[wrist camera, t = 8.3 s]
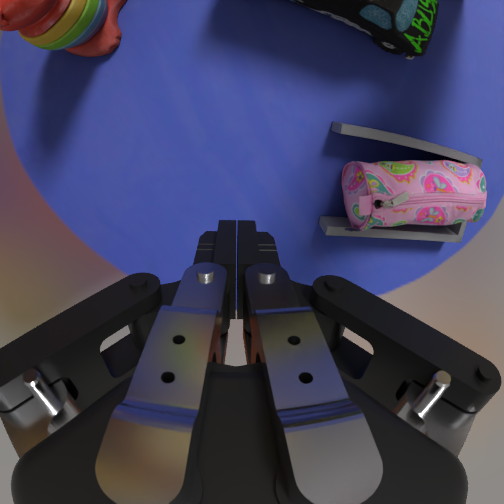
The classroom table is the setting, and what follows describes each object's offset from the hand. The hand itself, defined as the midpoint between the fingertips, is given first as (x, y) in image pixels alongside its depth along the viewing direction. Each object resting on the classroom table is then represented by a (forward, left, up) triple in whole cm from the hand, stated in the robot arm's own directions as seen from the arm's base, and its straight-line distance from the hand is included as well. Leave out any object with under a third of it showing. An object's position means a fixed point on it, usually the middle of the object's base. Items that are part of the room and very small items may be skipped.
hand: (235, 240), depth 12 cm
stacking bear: (-19, -20, -24) cm, 36 cm away
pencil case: (+2, +23, -24) cm, 34 cm away
